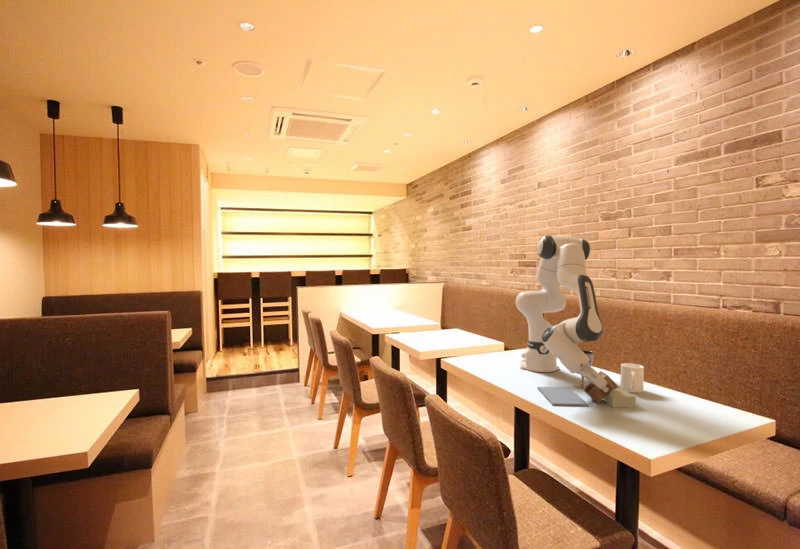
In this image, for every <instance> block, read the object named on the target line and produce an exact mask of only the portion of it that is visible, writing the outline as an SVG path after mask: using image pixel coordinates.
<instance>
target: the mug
mask: <svg viewBox="0 0 800 549" xmlns="http://www.w3.org/2000/svg"><path fill="white" fill-rule="evenodd" d="M644 367H645V366H643V365H641V364H637V363H629V362H625V363H620V386H619V387H621V388H623V389H624V390H626V391H628V392H629V393H631V394H633V393H634V394H641V393H643V391H644V383H645V382H644V380H645V379H644V376H645V374H644V372H645V368H644Z"/></svg>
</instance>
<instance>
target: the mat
mask: <svg viewBox="0 0 800 549" xmlns="http://www.w3.org/2000/svg"><path fill="white" fill-rule="evenodd" d="M537 390H538V391H539V392H540V393H541V394H542V396H543V397H544V398H545V399H546V401H548V402H549V403H550V405H552V406H554V407H555V406H557V407H558V406H561V407H562V406H564V407H565V406H566V407H589V403H588V402H586V400H584V399H583V398H582V397H581V396H580V395H579V394H578V393H577V392H575V391H574V390H573V389H572V388H571V387H568V386H567V387H565V386H537Z"/></svg>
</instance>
